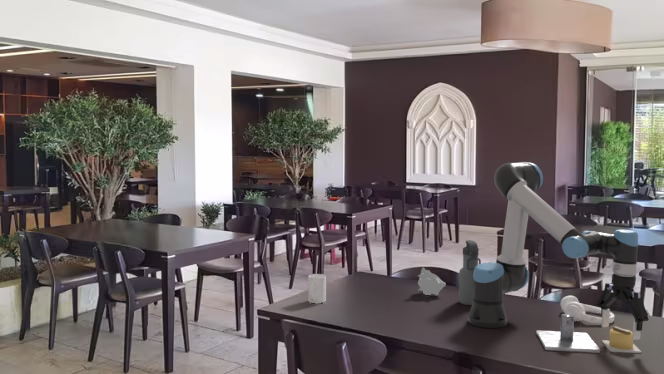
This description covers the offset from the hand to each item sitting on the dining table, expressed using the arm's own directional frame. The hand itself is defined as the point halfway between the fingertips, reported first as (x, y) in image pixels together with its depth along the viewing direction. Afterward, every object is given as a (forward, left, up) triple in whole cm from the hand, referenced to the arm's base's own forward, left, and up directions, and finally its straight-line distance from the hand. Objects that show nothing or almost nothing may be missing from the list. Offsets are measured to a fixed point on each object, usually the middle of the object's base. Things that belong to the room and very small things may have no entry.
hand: (620, 332), depth 210 cm
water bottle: (-49, +50, -5) cm, 70 cm away
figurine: (-66, +62, -5) cm, 90 cm away
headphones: (-2, +35, -6) cm, 35 cm away
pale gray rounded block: (-118, +39, -5) cm, 124 cm away
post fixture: (-18, +2, -5) cm, 18 cm away
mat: (0, 0, -5) cm, 5 cm away
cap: (0, 0, -4) cm, 5 cm away
